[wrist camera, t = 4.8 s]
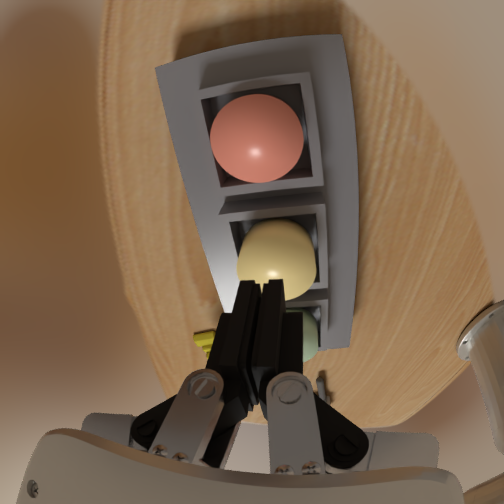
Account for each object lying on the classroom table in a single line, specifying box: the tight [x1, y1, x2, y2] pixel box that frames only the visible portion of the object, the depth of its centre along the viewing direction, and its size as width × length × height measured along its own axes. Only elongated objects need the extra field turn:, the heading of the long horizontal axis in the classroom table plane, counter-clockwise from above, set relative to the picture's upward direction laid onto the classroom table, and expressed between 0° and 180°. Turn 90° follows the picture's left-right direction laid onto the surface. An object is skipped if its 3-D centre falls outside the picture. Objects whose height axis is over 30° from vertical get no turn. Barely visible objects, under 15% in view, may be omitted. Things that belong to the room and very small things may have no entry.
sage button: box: [286, 307, 318, 362], centre depth 23 cm, size 5×5×2 cm
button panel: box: [155, 34, 359, 351], centre depth 21 cm, size 12×28×5 cm, turn 10°
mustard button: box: [236, 218, 316, 301], centre depth 18 cm, size 5×5×2 cm
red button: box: [210, 94, 304, 183], centre depth 15 cm, size 5×5×2 cm
